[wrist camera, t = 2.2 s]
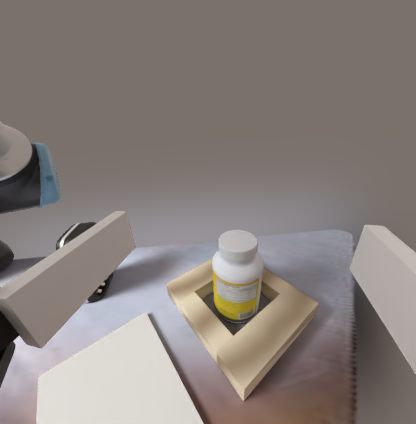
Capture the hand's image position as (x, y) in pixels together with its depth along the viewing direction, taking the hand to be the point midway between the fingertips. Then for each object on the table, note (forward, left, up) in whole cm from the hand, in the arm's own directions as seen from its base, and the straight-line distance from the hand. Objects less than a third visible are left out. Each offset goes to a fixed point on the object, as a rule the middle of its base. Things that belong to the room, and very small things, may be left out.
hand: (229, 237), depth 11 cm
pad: (-6, -10, -18) cm, 22 cm away
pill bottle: (-6, +7, -19) cm, 21 cm away
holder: (-6, +7, -18) cm, 21 cm away
